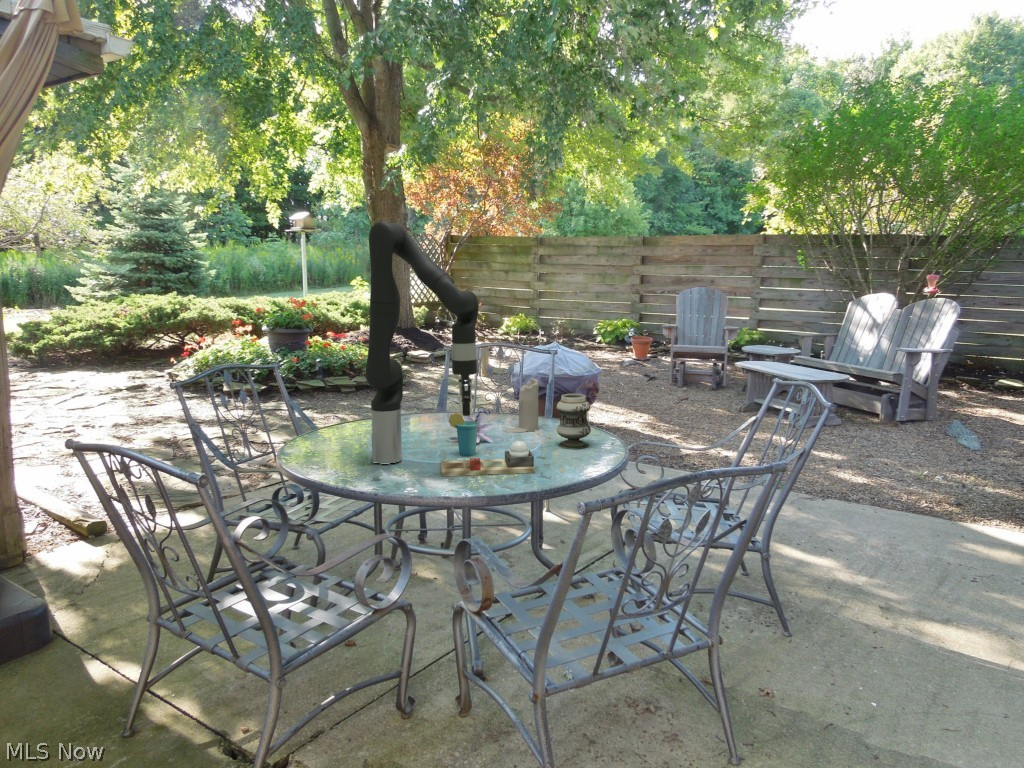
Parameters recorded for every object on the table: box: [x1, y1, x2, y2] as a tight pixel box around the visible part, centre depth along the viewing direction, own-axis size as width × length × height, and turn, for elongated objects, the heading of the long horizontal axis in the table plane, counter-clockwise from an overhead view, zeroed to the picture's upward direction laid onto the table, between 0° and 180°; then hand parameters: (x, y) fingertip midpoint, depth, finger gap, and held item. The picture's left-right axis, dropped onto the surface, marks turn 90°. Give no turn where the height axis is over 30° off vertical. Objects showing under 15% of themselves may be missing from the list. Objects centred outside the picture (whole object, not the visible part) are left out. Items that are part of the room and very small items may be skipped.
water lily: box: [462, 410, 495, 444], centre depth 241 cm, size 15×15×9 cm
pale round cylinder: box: [508, 440, 530, 457], centre depth 206 cm, size 6×6×6 cm
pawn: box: [458, 396, 474, 416], centre depth 201 cm, size 4×4×8 cm
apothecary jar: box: [556, 393, 592, 450], centre depth 233 cm, size 12×12×18 cm
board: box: [440, 449, 536, 477], centre depth 205 cm, size 28×12×5 cm, turn 97°
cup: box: [448, 409, 491, 457], centre depth 222 cm, size 14×8×15 cm, turn 99°
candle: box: [502, 377, 540, 433], centre depth 256 cm, size 7×14×20 cm, turn 107°
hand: (466, 413), depth 201 cm, fingers closed on pawn, 4 cm apart
